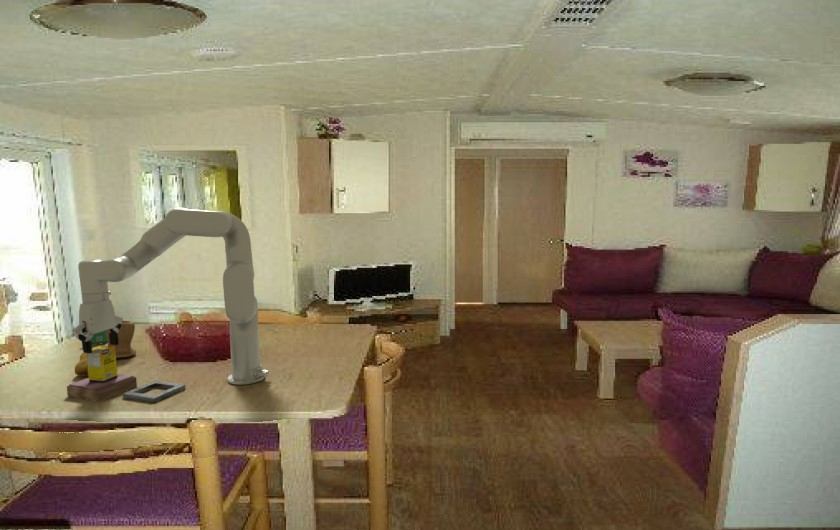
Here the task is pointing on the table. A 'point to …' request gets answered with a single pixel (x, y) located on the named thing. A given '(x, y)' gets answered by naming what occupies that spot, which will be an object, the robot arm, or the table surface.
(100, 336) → the beverage can
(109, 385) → the pedestal
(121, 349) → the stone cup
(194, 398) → the table surface
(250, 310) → the robot arm
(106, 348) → the supplement box
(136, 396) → the frame
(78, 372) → the bread roll
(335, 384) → the table surface
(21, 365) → the table surface
